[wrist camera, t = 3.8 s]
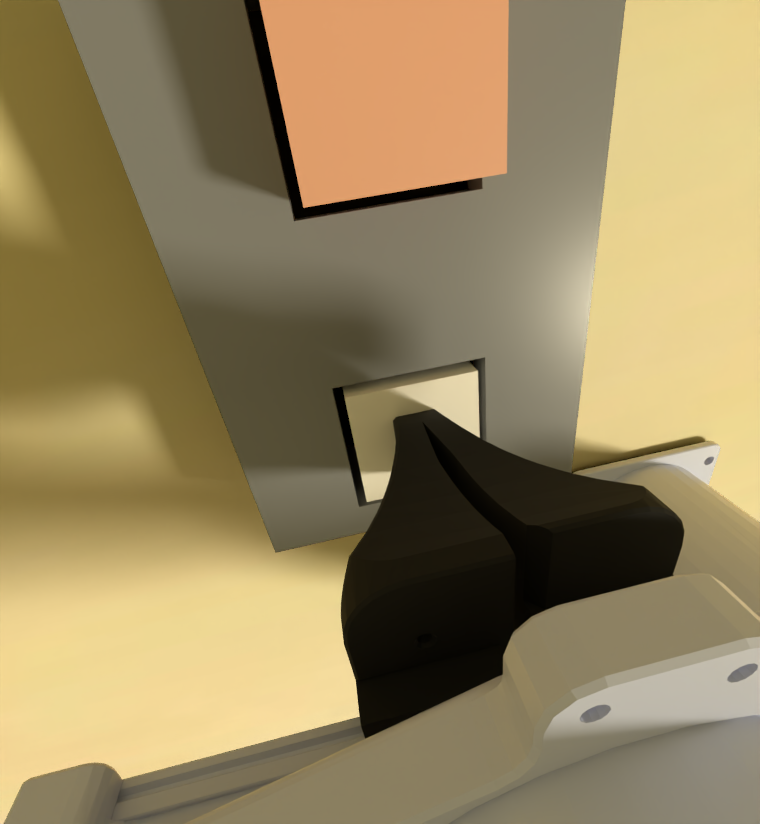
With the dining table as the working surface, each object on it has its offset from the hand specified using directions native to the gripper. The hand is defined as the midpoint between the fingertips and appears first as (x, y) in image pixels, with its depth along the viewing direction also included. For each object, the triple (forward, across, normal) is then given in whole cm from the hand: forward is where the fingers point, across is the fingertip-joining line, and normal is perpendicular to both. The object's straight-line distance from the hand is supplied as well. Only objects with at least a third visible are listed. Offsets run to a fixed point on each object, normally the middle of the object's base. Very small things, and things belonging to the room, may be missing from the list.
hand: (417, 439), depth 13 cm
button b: (+2, 0, -9) cm, 9 cm away
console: (+4, 0, -4) cm, 6 cm away
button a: (+3, 0, 0) cm, 3 cm away
